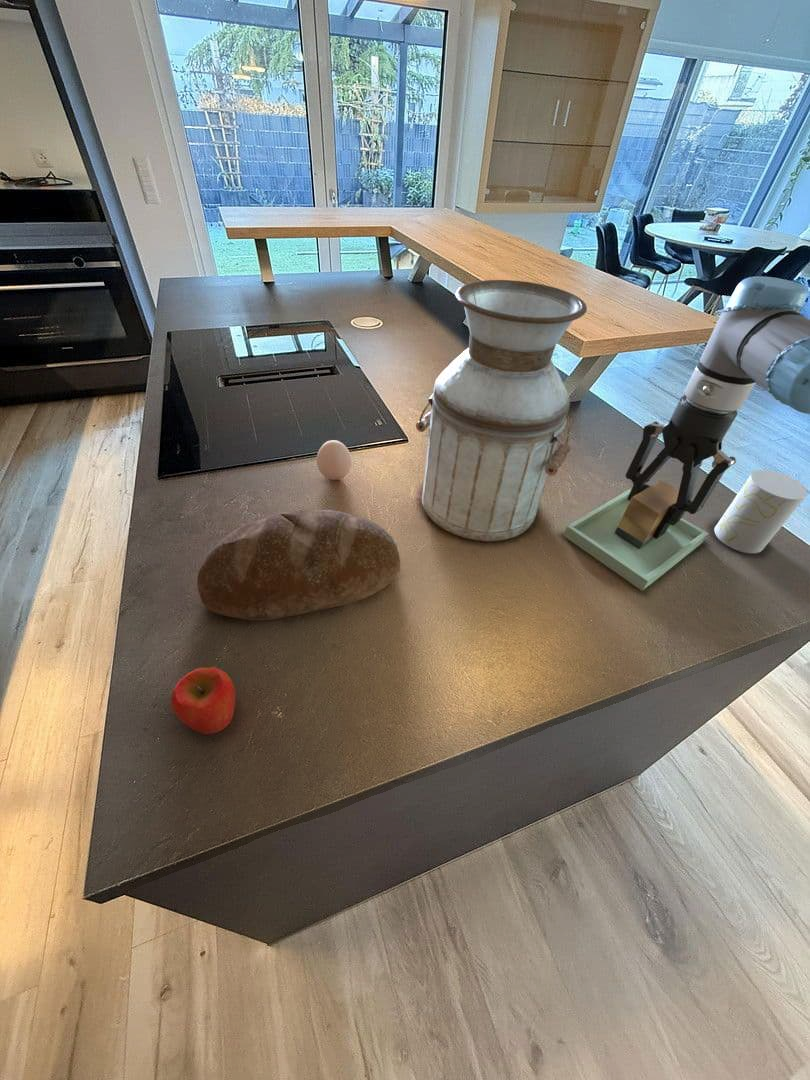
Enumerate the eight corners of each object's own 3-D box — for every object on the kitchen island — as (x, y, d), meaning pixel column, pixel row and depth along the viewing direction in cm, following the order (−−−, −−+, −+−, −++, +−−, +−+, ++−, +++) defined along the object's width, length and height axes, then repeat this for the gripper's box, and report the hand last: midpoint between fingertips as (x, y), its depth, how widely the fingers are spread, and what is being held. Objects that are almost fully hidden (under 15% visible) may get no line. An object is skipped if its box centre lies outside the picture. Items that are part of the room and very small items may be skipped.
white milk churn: (558, 496, 90) (628, 297, 65) (521, 563, 76) (593, 341, 51) (444, 456, 98) (469, 266, 74) (392, 510, 84) (402, 297, 60)
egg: (313, 471, 92) (310, 436, 86) (345, 464, 94) (344, 430, 89) (324, 490, 88) (321, 454, 82) (357, 482, 90) (356, 447, 84)
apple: (228, 684, 58) (214, 650, 52) (252, 721, 54) (239, 689, 49) (178, 715, 54) (158, 682, 49) (199, 756, 51) (180, 725, 46)
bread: (204, 562, 72) (184, 506, 65) (384, 532, 80) (385, 479, 72) (203, 644, 62) (179, 588, 54) (411, 601, 69) (417, 546, 61)
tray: (702, 542, 82) (708, 533, 80) (642, 591, 73) (648, 581, 71) (625, 497, 91) (630, 488, 89) (563, 535, 81) (567, 526, 80)
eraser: (667, 529, 83) (688, 494, 77) (639, 549, 78) (659, 513, 73) (642, 514, 86) (660, 479, 80) (614, 533, 81) (631, 497, 76)
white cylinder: (704, 524, 86) (740, 471, 78) (742, 521, 87) (780, 468, 79) (735, 555, 80) (776, 501, 72) (774, 551, 81) (819, 497, 73)
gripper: (638, 384, 68) (588, 506, 84) (766, 437, 58) (681, 565, 74) (665, 373, 72) (611, 492, 88) (789, 422, 62) (703, 546, 78)
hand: (643, 525), depth 81 cm, fingers closed on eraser, 5 cm apart
